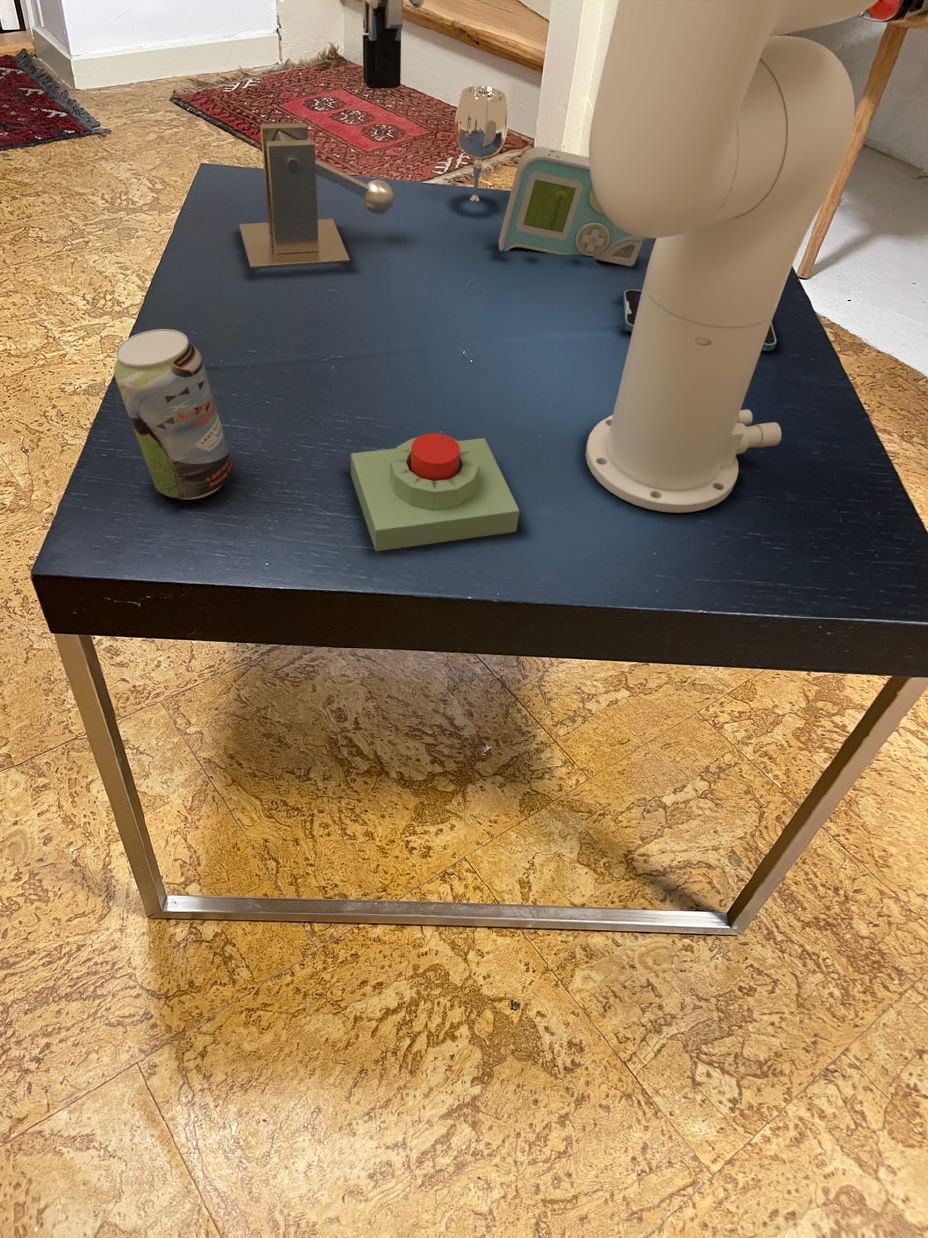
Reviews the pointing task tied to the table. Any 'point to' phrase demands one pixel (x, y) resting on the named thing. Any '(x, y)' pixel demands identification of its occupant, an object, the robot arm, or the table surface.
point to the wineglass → (480, 125)
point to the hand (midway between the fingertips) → (381, 84)
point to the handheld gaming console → (561, 211)
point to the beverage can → (173, 413)
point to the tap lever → (354, 184)
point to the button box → (432, 498)
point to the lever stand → (291, 206)
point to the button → (435, 457)
